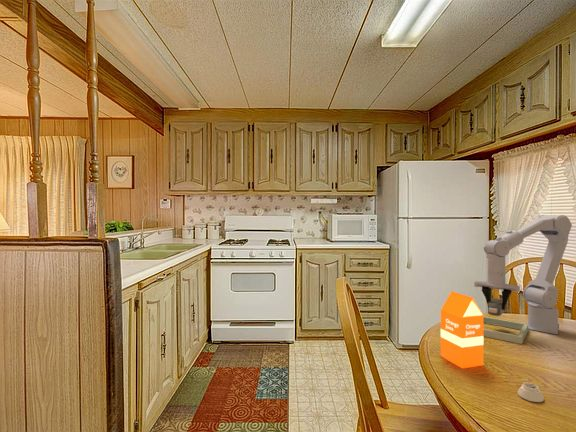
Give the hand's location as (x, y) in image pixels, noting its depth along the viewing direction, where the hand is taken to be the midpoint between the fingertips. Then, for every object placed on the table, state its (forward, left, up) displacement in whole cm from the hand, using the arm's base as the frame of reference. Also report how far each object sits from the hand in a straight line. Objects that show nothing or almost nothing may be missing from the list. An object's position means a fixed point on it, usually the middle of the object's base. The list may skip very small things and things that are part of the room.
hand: (496, 308), depth 126 cm
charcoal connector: (0, 0, -1) cm, 1 cm away
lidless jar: (-15, +48, -9) cm, 51 cm away
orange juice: (+3, +37, -9) cm, 38 cm away
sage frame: (0, +1, -9) cm, 9 cm away
